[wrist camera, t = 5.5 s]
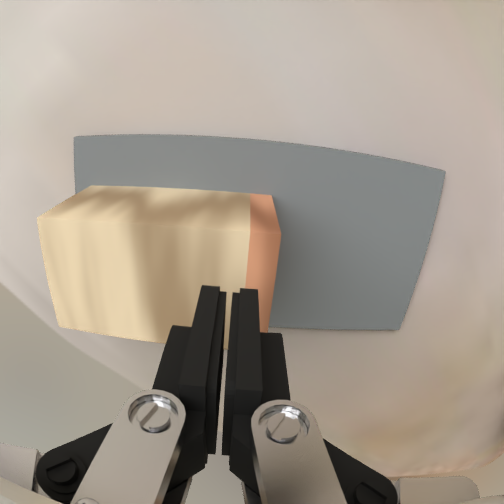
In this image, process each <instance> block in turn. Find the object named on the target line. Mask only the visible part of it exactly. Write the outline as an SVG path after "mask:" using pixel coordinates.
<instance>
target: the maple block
mask: <svg viewBox="0 0 504 504" xmlns="http://www.w3.org/2000/svg"><path fill="white" fill-rule="evenodd" d="M37 223H38V230H39V237H40V243H41V249H42V255H43V260H44V265H45V270H46V275H47V280H48V284H49V289H50V293H51V297H52V301H53V305H54V309H55V313H56V317H57V320H58V324H59V326H60V327H65V328H70V329H75V330H80V331H86V332H91V333H97V334H103V335H109V336H115V337H121V338H128V339H135V340H142V341H149V342H157V343H165V344H166V342H167V339H168V335H169V332H170V329H171V327H172V325H178V326H188V327H192V323H193V319H194V315H195V310H196V306H197V302H198V298H199V294H200V290H201V286H202V285H209V286H220V291H224V292H227V297H226V314H225V333H224V349H225V350H228V341H229V329H230V316H231V304H232V292H237V293H240V288H248V289H258V297H259V319H260V332H265V333H268V326H269V319H270V312H271V306H272V299H273V292H274V285H275V277H276V270H277V263H278V256H279V248H280V241H281V231H280V227H279V223H278V219H277V215H276V211H275V207H274V203H273V199H272V195H263V194H252V193H239V192H226V191H212V190H197V189H179V188H159V187H135V186H97V185H91V186H89V187H88V188H86V189H84V190H82V191H80V192H79V193H77V194H75V195H74V196H72V197H70V198H68V199H67V200H65V201H63V202H62V203H60V204H58V205H57V206H55V207H54V208H52V209H50V210H49V211H47V212H45V213H44V214H42V215H41V216H39V217H38V218H37Z"/></svg>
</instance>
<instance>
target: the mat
mask: <svg viewBox="0 0 504 504" xmlns="http://www.w3.org/2000/svg"><path fill="white" fill-rule="evenodd" d="M74 172H75V191H76V194H77V193H79V192H80V191H82V190H84V189H86V188H88V187H89V186H91V185H97V186H135V187H159V188H179V189H197V190H212V191H226V192H239V193H252V194H263V195H272V199H273V203H274V207H275V211H276V215H277V219H278V223H279V227H280V231H281V241H280V248H279V256H278V263H277V270H276V277H275V285H274V292H273V299H272V306H271V312H270V319H269V326H268V327H283V328H305V329H338V330H399V329H400V327H401V324H402V321H403V319H404V316H405V314H406V311H407V308H408V305H409V303H410V300H411V297H412V294H413V291H414V288H415V285H416V282H417V279H418V276H419V273H420V270H421V267H422V264H423V260H424V257H425V254H426V250H427V247H428V243H429V240H430V236H431V232H432V229H433V225H434V221H435V217H436V213H437V209H438V205H439V200H440V196H441V191H442V187H443V182H444V177H445V171H443V170H440V169H436V168H431V167H427V166H423V165H418V164H414V163H409V162H404V161H400V160H395V159H390V158H385V157H379V156H374V155H368V154H363V153H357V152H351V151H345V150H338V149H332V148H325V147H318V146H310V145H302V144H294V143H285V142H276V141H266V140H255V139H243V138H230V137H214V136H193V135H95V136H77V137H74Z"/></svg>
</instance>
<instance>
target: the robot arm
mask: <svg viewBox="0 0 504 504" xmlns="http://www.w3.org/2000/svg"><path fill="white" fill-rule="evenodd" d="M226 297H227V292H224V291H220V286H209V285H202V286H201V290H200V294H199V298H198V302H197V306H196V310H195V315H194V319H193V323H192V327H188V326H178V325H172V327H171V329H170V332H169V335H168V339H167V342H166V345H165V348H164V351H163V355H162V358H161V361H160V365H159V368H158V371H157V375H156V378H155V381H154V385H153V388H152V390H144V391H141V392H138V393H136V394H134V395H132V396H131V397H129V398H128V399H127V401H126V402H125V403H124V404H123V406H122V408H121V410H120V412H119V413H118V415H117V417H116V419H115V421H114V422H113V423H112V424H109V425H107V426H105V427H103V428H101V429H99V430H97V431H94V432H92V433H90V434H87V435H85V436H83V437H81V438H78V439H76V440H74V441H71V442H69V443H67V444H64V445H62V446H59V447H57V448H55V449H52V450H50V451H48V452H47V453H40V452H39V451H38V450H37V449H33V448H27V447H21V446H15V445H9V444H4V443H0V504H185V501H186V498H187V495H188V491H189V488H190V485H191V482H192V476H193V475H194V474H196V473H197V472H199V471H201V470H202V469H204V468H205V464H206V463H207V458H208V454H215V453H216V440H217V428H218V415H219V403H220V391H221V380H222V368H223V352H224V333H225V314H226ZM222 455H229V465H230V471H231V472H232V473H234V474H235V475H236V476H237V477H238V478H239V479H240V480H242V482H241V485H242V490H243V496H244V502H245V504H504V495H497V496H489V497H483V498H480V496H479V491H478V488H477V485H476V484H475V483H474V482H473V481H472V480H471V479H469V478H467V477H464V476H451V477H431V478H399V479H398V480H397V481H390V480H389V479H387V478H386V477H385V476H383V475H381V474H380V473H378V472H376V471H374V470H373V469H371V468H369V467H368V466H366V465H364V464H363V463H361V462H359V461H358V460H356V459H354V458H353V457H351V456H350V455H348V454H346V453H345V452H343V451H342V450H340V449H338V448H337V447H335V446H334V445H332V444H331V443H329V442H328V441H326V440H325V439H323V438H322V435H321V433H320V430H319V427H318V425H317V422H316V419H315V418H314V416H313V414H312V413H311V412H310V411H309V410H308V409H307V408H306V407H305V406H303V405H301V404H299V403H297V402H293V401H291V400H290V392H289V384H288V376H287V368H286V361H285V353H284V345H283V338H282V334H281V333H265V332H260V319H259V297H258V289H248V288H240V293H237V292H232V304H231V316H230V329H229V341H228V354H227V367H226V381H225V397H224V417H223V437H222Z"/></svg>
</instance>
